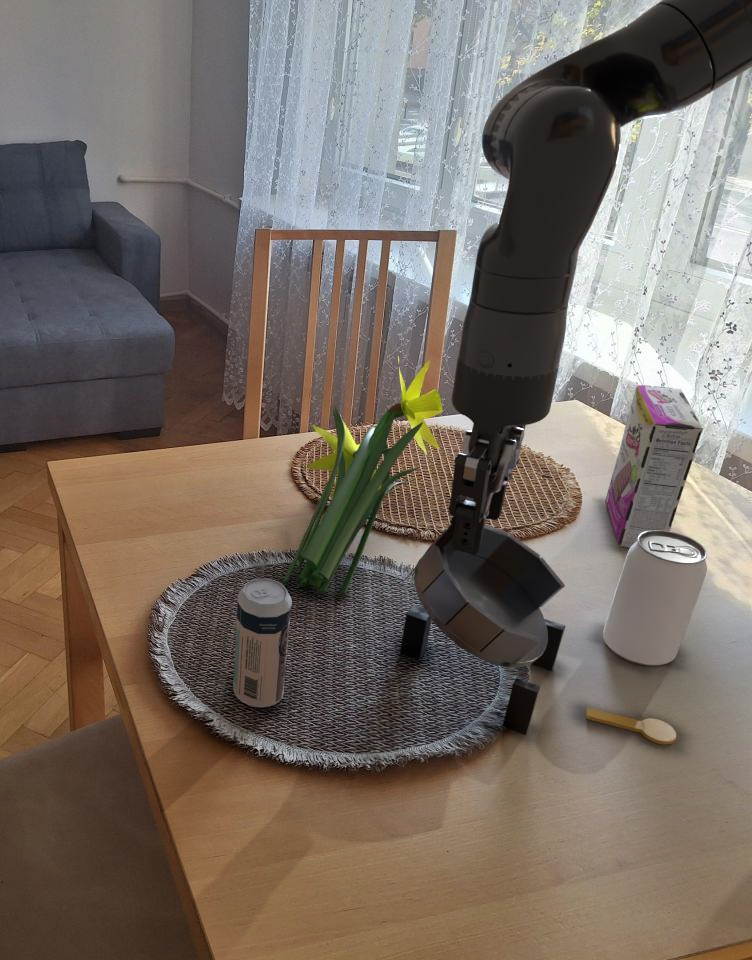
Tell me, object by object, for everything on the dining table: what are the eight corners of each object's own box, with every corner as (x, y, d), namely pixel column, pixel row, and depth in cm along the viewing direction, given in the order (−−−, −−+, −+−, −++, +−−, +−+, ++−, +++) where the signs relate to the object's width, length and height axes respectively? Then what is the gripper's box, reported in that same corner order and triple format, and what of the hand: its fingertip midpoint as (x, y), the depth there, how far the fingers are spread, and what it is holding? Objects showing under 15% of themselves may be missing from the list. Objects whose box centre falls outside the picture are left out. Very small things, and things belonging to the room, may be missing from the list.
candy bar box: (601, 501, 110) (635, 383, 102) (645, 507, 108) (683, 387, 100) (615, 548, 101) (653, 422, 93) (663, 555, 99) (707, 427, 91)
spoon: (587, 701, 79) (586, 704, 79) (587, 721, 77) (586, 725, 77) (675, 723, 76) (673, 726, 76) (678, 745, 74) (676, 748, 74)
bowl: (557, 615, 82) (621, 559, 77) (522, 695, 73) (592, 638, 67) (436, 526, 86) (489, 466, 80) (388, 592, 77) (444, 529, 71)
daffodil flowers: (218, 572, 101) (322, 396, 121) (322, 646, 100) (409, 456, 120) (287, 504, 87) (391, 319, 107) (407, 589, 86) (489, 386, 107)
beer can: (292, 704, 80) (302, 601, 74) (245, 716, 79) (251, 612, 73) (270, 671, 84) (277, 571, 78) (225, 682, 83) (229, 581, 77)
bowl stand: (554, 665, 84) (565, 625, 81) (525, 735, 76) (537, 692, 74) (421, 619, 90) (428, 580, 88) (383, 678, 83) (389, 638, 80)
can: (681, 674, 82) (720, 571, 76) (605, 660, 84) (637, 558, 78) (668, 633, 87) (704, 533, 81) (597, 620, 89) (627, 522, 83)
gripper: (537, 395, 62) (498, 585, 70) (578, 336, 72) (540, 508, 80) (432, 376, 66) (407, 558, 74) (484, 323, 76) (457, 488, 84)
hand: (476, 532), depth 77 cm, fingers closed on bowl, 6 cm apart
